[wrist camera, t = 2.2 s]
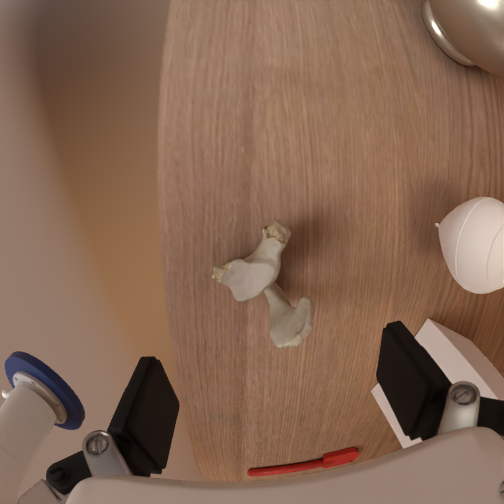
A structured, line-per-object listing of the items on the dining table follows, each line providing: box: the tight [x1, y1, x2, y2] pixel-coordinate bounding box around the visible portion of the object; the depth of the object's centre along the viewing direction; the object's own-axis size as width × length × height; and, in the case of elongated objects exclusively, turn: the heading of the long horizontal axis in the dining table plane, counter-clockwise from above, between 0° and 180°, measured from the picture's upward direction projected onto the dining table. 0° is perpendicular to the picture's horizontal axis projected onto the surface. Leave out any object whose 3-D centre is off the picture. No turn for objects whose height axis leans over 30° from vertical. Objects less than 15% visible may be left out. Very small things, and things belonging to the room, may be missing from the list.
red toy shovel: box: [248, 447, 359, 476], centre depth 33 cm, size 18×4×1 cm, turn 99°
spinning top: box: [435, 197, 504, 294], centre depth 17 cm, size 8×8×12 cm
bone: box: [212, 219, 314, 348], centre depth 19 cm, size 9×6×10 cm
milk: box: [371, 318, 504, 449], centre depth 16 cm, size 12×12×26 cm
